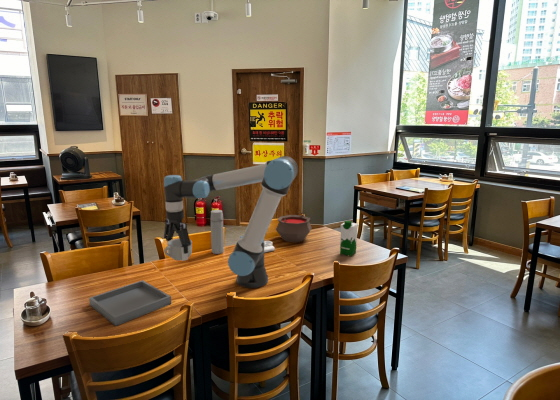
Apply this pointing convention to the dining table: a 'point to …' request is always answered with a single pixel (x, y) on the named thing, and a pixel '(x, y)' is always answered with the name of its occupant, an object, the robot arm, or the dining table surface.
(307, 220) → the cooking pot
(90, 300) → the tray
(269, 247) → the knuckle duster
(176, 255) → the teacup
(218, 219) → the water bottle
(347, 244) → the milk carton
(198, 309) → the dining table surface
